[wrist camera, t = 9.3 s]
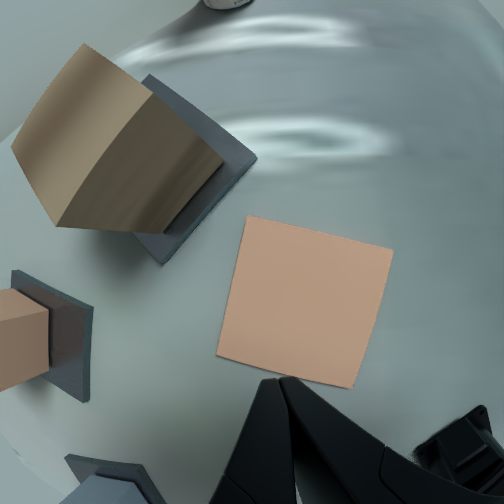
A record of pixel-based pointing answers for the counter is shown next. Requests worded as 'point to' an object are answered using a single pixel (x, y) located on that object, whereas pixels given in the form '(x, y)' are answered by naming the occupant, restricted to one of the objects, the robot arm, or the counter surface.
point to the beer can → (224, 3)
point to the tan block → (22, 338)
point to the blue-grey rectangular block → (105, 492)
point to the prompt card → (303, 302)
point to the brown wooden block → (109, 151)
